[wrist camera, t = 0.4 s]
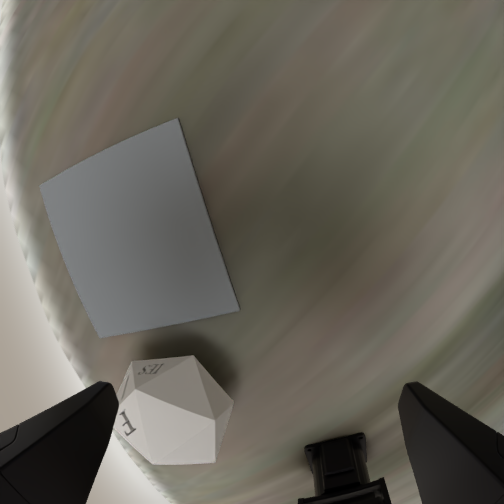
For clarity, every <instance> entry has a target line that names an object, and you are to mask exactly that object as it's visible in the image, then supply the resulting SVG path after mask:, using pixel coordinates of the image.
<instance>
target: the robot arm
mask: <svg viewBox="0 0 504 504" xmlns="http://www.w3.org/2000/svg"><path fill="white" fill-rule="evenodd" d="M118 409H119V401H118V398H117V396H116V393H115V391H114V388H113V386H112V384H111V383H108V382H102V381H99V382H97V383H95V384H93V385H92V386H90V387H88V388H86V389H84V390H83V391H81V392H79V393H77V394H75V395H73V396H71V397H70V398H68V399H66V400H64V401H62V402H60V403H58V404H57V405H55V406H53V407H51V408H49V409H47V410H45V411H43V412H41V413H39V414H37V415H35V416H34V417H32V418H30V419H28V420H26V421H24V422H22V423H20V424H19V425H16V426H14V427H12V428H10V429H8V430H6V431H4V432H1V433H0V504H86V502H87V499H88V496H89V493H90V491H91V488H92V485H93V483H94V480H95V477H96V475H97V472H98V469H99V467H100V465H101V462H102V459H103V457H104V454H105V452H106V449H107V447H108V444H109V441H110V437H111V434H112V430H113V427H114V423H115V419H116V416H117V413H118ZM398 410H399V415H400V420H401V425H402V430H403V435H404V440H405V445H406V449H407V453H408V456H409V459H410V463H411V466H412V469H413V472H414V476H415V479H416V483H417V486H418V490H419V493H420V497H421V501H422V504H504V436H503V435H502V434H500V433H499V432H497V433H496V431H495V430H494V429H492V428H490V427H489V426H487V425H485V424H484V423H482V422H481V421H479V420H477V419H476V418H474V417H473V416H471V415H470V414H468V413H466V412H465V411H463V410H462V409H460V408H458V407H457V406H455V405H454V404H452V403H451V402H449V401H447V400H446V399H444V398H443V397H441V396H440V395H438V394H436V393H435V392H433V391H432V390H430V389H429V388H427V387H425V386H424V385H422V384H421V383H419V382H410V383H406V384H405V385H404V387H403V390H402V393H401V396H400V399H399V403H398ZM304 449H305V453H306V456H307V459H308V462H309V465H310V468H311V471H312V474H313V475H314V486H315V497H309V498H300V499H298V504H391V500H390V497H389V493H388V490H387V487H386V483H385V480H384V477H383V478H380V479H379V480H376V481H373V482H370V479H369V474H368V470H367V466H366V462H367V454H366V438H365V434H364V433H357V434H354V435H350V436H346V437H342V438H338V439H334V440H329V441H325V442H320V443H316V444H311V445H307V446H305V447H304Z"/></svg>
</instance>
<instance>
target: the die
mask: <svg viewBox="0 0 504 504" xmlns="http://www.w3.org/2000/svg"><path fill="white" fill-rule="evenodd" d="M116 396H117V398H118V401H119V409H118V413H117V416H116V419H115V423H114V427H113V428H114V429H115V430H116V431H117V432H118V433H119V434H120V435H121V436H122V437H123V438H124V439H126V440H127V441H128V442H129V443H130V444H131V445H132V446H133V447H134V448H135V449H136V450H137V451H138V452H139V453H140V454H142V455H143V456H144V457H145V458H146V459H147V460H148V461H149V462H151V463H152V464H161V465H172V464H203V463H215V462H216V459H217V456H218V453H219V450H220V446H221V443H222V440H223V437H224V434H225V431H226V427H227V424H228V421H229V418H230V414H231V411H232V408H233V405H234V401H233V400H232V399H231V398H230V397H229V396H228V394H227V393H226V392H225V391H224V390H223V389H222V388H221V387H220V386H219V384H218V383H217V382H216V381H215V380H214V379H213V378H212V376H211V375H210V374H209V373H208V372H207V371H206V369H205V368H204V367H203V366H202V365H201V364H200V362H199V361H198V360H197V359H196V358H195V356H194V355H192V356H183V357H173V358H163V359H151V360H138V361H131V364H130V366H129V368H128V370H127V372H126V375H125V377H124V379H123V382H122V384H121V386H120V388H119V390H118V393H117V395H116Z"/></svg>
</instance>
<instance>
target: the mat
mask: <svg viewBox="0 0 504 504" xmlns="http://www.w3.org/2000/svg"><path fill="white" fill-rule="evenodd" d="M39 187H40V190H41V194H42V197H43V201H44V204H45V208H46V211H47V214H48V217H49V220H50V223H51V226H52V229H53V232H54V235H55V238H56V241H57V243H58V246H59V249H60V251H61V254H62V257H63V259H64V262H65V264H66V267H67V269H68V272H69V274H70V277H71V279H72V281H73V284H74V286H75V288H76V290H77V293H78V295H79V297H80V299H81V301H82V304H83V306H84V308H85V310H86V312H87V314H88V316H89V318H90V320H91V322H92V324H93V326H94V328H95V330H96V332H97V334H98V336H99V338H103V337H109V336H115V335H121V334H127V333H132V332H138V331H143V330H149V329H154V328H159V327H165V326H170V325H175V324H180V323H185V322H190V321H195V320H199V319H204V318H209V317H213V316H218V315H222V314H227V313H231V312H236V311H240V307H239V304H238V301H237V298H236V295H235V292H234V289H233V286H232V283H231V280H230V278H229V275H228V272H227V269H226V266H225V263H224V260H223V257H222V254H221V251H220V248H219V245H218V242H217V239H216V236H215V233H214V230H213V227H212V224H211V220H210V217H209V214H208V211H207V208H206V205H205V202H204V199H203V196H202V192H201V189H200V186H199V183H198V180H197V177H196V173H195V170H194V167H193V164H192V161H191V157H190V154H189V151H188V147H187V144H186V141H185V138H184V134H183V131H182V128H181V124H180V121H179V118H176V119H174V120H171V121H168V122H166V123H163V124H161V125H158V126H156V127H154V128H151V129H149V130H146V131H144V132H142V133H140V134H137V135H135V136H133V137H130V138H128V139H126V140H124V141H122V142H120V143H117V144H115V145H113V146H111V147H109V148H107V149H105V150H103V151H101V152H99V153H97V154H95V155H93V156H91V157H89V158H87V159H85V160H83V161H82V162H80V163H78V164H76V165H74V166H72V167H71V168H69V169H67V170H65V171H63V172H62V173H60V174H58V175H56V176H55V177H53V178H51V179H50V180H48V181H46V182H45V183H43V184H41V185H40V186H39Z"/></svg>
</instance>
